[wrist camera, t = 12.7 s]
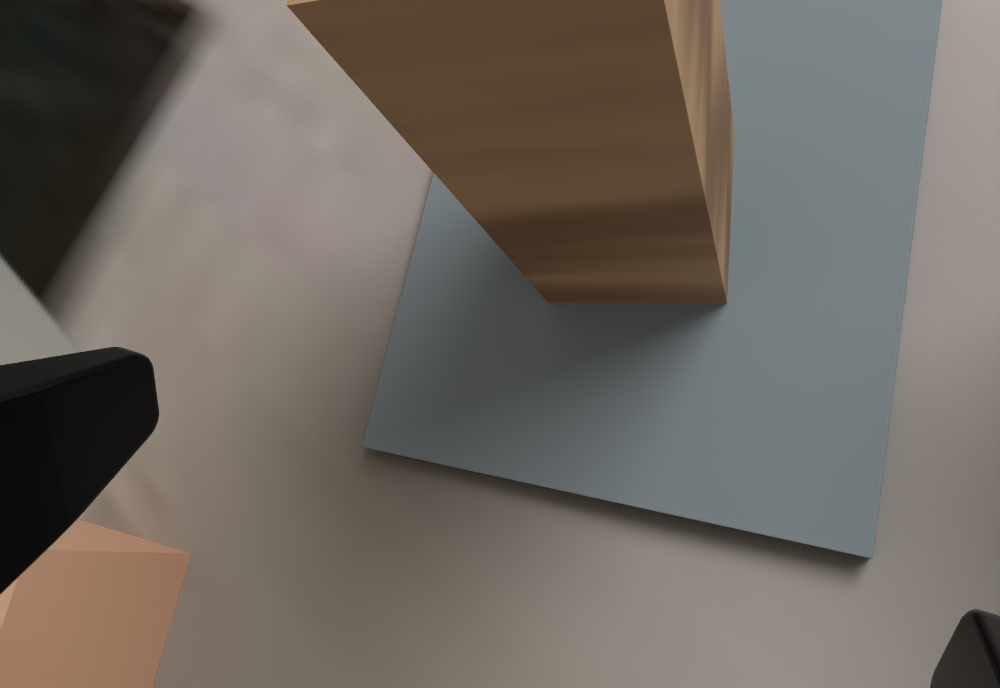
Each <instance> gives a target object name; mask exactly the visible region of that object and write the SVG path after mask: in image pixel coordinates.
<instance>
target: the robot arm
mask: <svg viewBox="0 0 1000 688" xmlns="http://www.w3.org/2000/svg"><path fill="white" fill-rule="evenodd" d="M158 418H159V407H158V400H157V393H156V385H155V378H154V370H153V366H152V363H151V361H150V360H149V358H148V357H146V356H145V355H143V354H141V353H138V352H134V351H131V350H128V349H125V348H121V347H110V348H104V349H98V350H92V351H86V352H80V353H74V354H68V355H61V356H55V357H49V358H44V359H38V360H31V361H25V362H18V363H12V364H6V365H0V595H1V594H2V593H3V592H4V591H5V590H6V589H7V588H8V587H9V586H10V585H11V584H12V583H13V582H14V581H15V580H16V579H17V578H18V577H19V576H20V575H21V574H22V573H23V572H24V571H25V570H26V569H28V568H29V567H30V566H31V565H32V564H33V563H34V562H35V561H36V560H37V559H38V558H39V557H40V556H41V555H42V554H43V553H44V552H45V551H46V550H47V549H48V548H49V547H50V546H51V545H52V544H53V543H54V542H56V541H57V540H58V538H59V537H60V536H61V535H62V534H63V533H64V532H65V531H66V530H67V529H68V528H69V527H70V526H71V525H72V524H73V523H74V522H75V521H76V520H77V519H78V518H79V517H80V515H81V514H82V513H83V512H84V511H85V510H86V509H87V508H88V506H89V505H90V504H91V503H92V502H93V501H94V500H95V498H96V497H97V496H98V495H99V494H100V493H101V491H102V490H103V489H104V488H105V487H106V486H107V485H108V483H109V482H110V481H111V480H112V479H113V478H114V477H115V475H116V474H117V473H118V472H119V471H120V470H121V468H122V467H123V466H124V465H125V464H126V463H127V462H128V460H129V459H130V458H131V457H132V456H133V455H134V453H135V452H136V451H137V450H138V449H139V448H140V447H141V445H142V444H143V443H144V442H145V441H146V440H147V439H148V437H149V436H150V435H151V434H152V432H153V431H154V429H155V427H156V425H157V422H158ZM930 688H1000V616H998V615H995V614H992V613H988V612H985V611H982V610H978V609H975V610H971V611H968V612H967V613H966V614H965V615H964V616H963V617H962V618H961V620H960V622H959V624H958V626H957V628H956V630H955V632H954V634H953V635H952V637H951V639H950V641H949V643H948V645H947V647H946V649H945V651H944V653H943V655H942V657H941V659H940V661H939V663H938V665H937V667H936V669H935V671H934V674H933V677H932V681H931V685H930Z"/></svg>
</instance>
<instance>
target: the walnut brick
mask: <svg viewBox="0 0 1000 688" xmlns="http://www.w3.org/2000/svg"><path fill="white" fill-rule="evenodd" d="M287 6H288V7H289V9H290V10H291V11H292V12H293V13H294V14H295V15H296V17H297V18H298V19H299V20H300V21H301V22H302V23H303V24H304V26H305V27H306V28H307V29H308V30H309V31H310V32H311V34H312V35H313V36H314V37H315V38H316V39H317V40H318V42H319V43H320V44H321V45H322V46H323V47H324V48H325V50H326V51H327V52H328V53H329V54H330V55H331V56H332V57H333V59H334V60H335V61H336V62H337V63H338V64H339V65H340V67H341V68H342V69H343V70H344V71H345V72H346V73H347V75H348V76H349V77H350V78H351V79H352V80H353V81H354V83H355V84H356V85H357V86H358V87H359V88H360V89H361V90H362V92H363V93H364V94H365V95H366V96H367V97H368V98H369V100H370V101H371V102H372V103H373V104H374V105H375V106H376V108H377V109H378V110H379V111H380V112H381V113H382V114H383V115H384V117H385V118H386V119H387V120H388V121H389V122H390V123H391V125H392V126H393V127H394V128H395V129H396V130H397V131H398V133H399V134H400V135H401V136H402V137H403V138H404V139H405V141H406V142H407V143H408V144H409V145H410V146H411V147H412V148H413V150H414V151H415V152H416V153H417V154H418V155H419V156H420V158H421V159H422V160H423V161H424V162H425V163H426V164H427V166H428V167H429V168H430V169H431V170H432V171H433V172H434V173H435V175H436V176H437V177H438V178H439V179H440V180H441V181H442V183H443V184H444V185H445V186H446V187H447V188H448V189H449V191H450V192H451V193H452V194H453V195H454V196H455V197H456V199H457V200H458V201H459V202H460V203H461V204H462V205H463V206H464V208H465V209H466V210H467V211H468V212H469V213H470V214H471V216H472V217H473V218H474V219H475V220H476V221H477V222H478V224H479V225H480V226H481V227H482V228H483V229H484V230H485V232H486V233H487V234H488V235H489V236H490V237H491V238H492V239H493V241H494V242H495V243H496V244H497V245H498V246H499V247H500V249H501V250H502V251H503V252H504V253H505V254H506V255H507V257H508V258H509V259H510V260H511V261H512V262H513V263H514V264H515V266H516V267H517V268H518V269H519V270H520V271H521V272H522V274H523V275H524V276H525V277H526V278H527V279H528V280H529V282H530V283H531V284H532V285H533V286H534V287H535V288H536V290H537V291H538V292H539V293H540V294H541V295H542V296H543V297H544V299H545V300H546V301H547V302H548V303H702V304H727V295H728V273H729V250H730V228H731V205H732V183H733V160H734V138H735V135H734V126H733V117H732V108H731V99H730V90H729V81H728V71H727V62H726V53H725V44H724V35H723V26H722V17H721V8H720V0H288V2H287Z"/></svg>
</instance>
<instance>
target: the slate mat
mask: <svg viewBox="0 0 1000 688" xmlns="http://www.w3.org/2000/svg"><path fill="white" fill-rule="evenodd" d="M941 6H942V0H720V8H721V17H722V26H723V35H724V44H725V53H726V62H727V71H728V81H729V90H730V99H731V108H732V117H733V126H734V135H735V138H734V160H733V183H732V205H731V228H730V250H729V273H728V295H727V304H702V303H548V302H547V301H546V300H545V299H544V297H543V296H542V295H541V294H540V293H539V292H538V291H537V290H536V288H535V287H534V286H533V285H532V284H531V283H530V282H529V280H528V279H527V278H526V277H525V276H524V275H523V274H522V272H521V271H520V270H519V269H518V268H517V267H516V266H515V264H514V263H513V262H512V261H511V260H510V259H509V258H508V257H507V255H506V254H505V253H504V252H503V251H502V250H501V249H500V247H499V246H498V245H497V244H496V243H495V242H494V241H493V239H492V238H491V237H490V236H489V235H488V234H487V233H486V232H485V230H484V229H483V228H482V227H481V226H480V225H479V224H478V222H477V221H476V220H475V219H474V218H473V217H472V216H471V214H470V213H469V212H468V211H467V210H466V209H465V208H464V206H463V205H462V204H461V203H460V202H459V201H458V200H457V199H456V197H455V196H454V195H453V194H452V193H451V192H450V191H449V189H448V188H447V187H446V186H445V185H444V184H443V183H442V181H441V180H440V179H439V178H438V177H437V176H436V175H435V173H433V177H432V180H431V184H430V188H429V192H428V196H427V199H426V203H425V207H424V211H423V215H422V218H421V222H420V226H419V230H418V234H417V237H416V241H415V245H414V249H413V253H412V256H411V260H410V264H409V268H408V272H407V275H406V279H405V283H404V287H403V291H402V294H401V298H400V302H399V306H398V310H397V313H396V317H395V321H394V325H393V329H392V332H391V336H390V340H389V344H388V348H387V351H386V355H385V359H384V363H383V367H382V370H381V374H380V378H379V382H378V386H377V389H376V393H375V397H374V401H373V405H372V408H371V412H370V416H369V420H368V424H367V427H366V431H365V435H364V439H363V443H362V446H361V447H365V448H368V449H372V450H376V451H381V452H385V453H390V454H395V455H399V456H404V457H408V458H413V459H417V460H422V461H426V462H431V463H436V464H440V465H445V466H449V467H454V468H458V469H463V470H468V471H472V472H477V473H481V474H486V475H490V476H495V477H499V478H504V479H509V480H513V481H518V482H522V483H527V484H531V485H536V486H541V487H545V488H550V489H554V490H559V491H563V492H568V493H572V494H577V495H582V496H586V497H591V498H595V499H600V500H604V501H609V502H614V503H618V504H623V505H627V506H632V507H636V508H641V509H646V510H650V511H655V512H659V513H664V514H668V515H673V516H677V517H682V518H687V519H691V520H696V521H700V522H705V523H709V524H714V525H719V526H723V527H728V528H732V529H737V530H741V531H746V532H750V533H755V534H760V535H764V536H769V537H773V538H778V539H782V540H787V541H792V542H796V543H801V544H805V545H810V546H814V547H819V548H823V549H828V550H833V551H837V552H842V553H846V554H851V555H855V556H860V557H865V558H869V559H872V558H873V552H874V544H875V536H876V528H877V520H878V512H879V504H880V496H881V488H882V480H883V472H884V464H885V455H886V447H887V439H888V431H889V423H890V415H891V407H892V399H893V391H894V383H895V375H896V367H897V359H898V351H899V343H900V335H901V327H902V319H903V311H904V303H905V295H906V287H907V279H908V271H909V263H910V255H911V247H912V239H913V231H914V223H915V215H916V207H917V199H918V191H919V183H920V175H921V167H922V159H923V151H924V143H925V134H926V126H927V118H928V110H929V102H930V94H931V86H932V78H933V70H934V62H935V54H936V46H937V38H938V30H939V22H940V14H941Z"/></svg>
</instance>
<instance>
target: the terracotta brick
mask: <svg viewBox="0 0 1000 688" xmlns="http://www.w3.org/2000/svg"><path fill="white" fill-rule="evenodd" d="M190 557H191V553H188V552H185V551H181V550H178V549H175V548H171V547H168V546H165V545H161V544H158V543H155V542H152V541H148V540H145V539H142V538H138V537H135V536H132V535H129V534H125V533H122V532H119V531H115V530H112V529H109V528H105V527H102V526H99V525H96V524H92V523H89V522H86V521H82V520H76V521H75V522H74V523H73V524H72V525H71V526H70V527H69V528H68V529H67V530H66V531H65V532H64V533H63V534H62V535H61V536H60V537H59V538H58V540H57V541H56V542H54V543H53V544H52V545H51V546H50V547H49V548H48V549H47V550H46V551H45V552H44V553H43V554H42V555H41V556H40V557H39V558H38V559H37V560H36V561H35V562H34V563H33V564H32V565H31V566H30V567H29V568H28V569H26V570H25V571H24V572H23V573H22V574H21V575H20V576H19V577H18V578H17V579H16V580H15V581H14V582H13V583H12V584H11V585H10V586H9V587H8V588H7V589H6V590H5V591H4V592H3V593H2V594H1V595H0V688H152V686H153V683H154V679H155V676H156V672H157V669H158V666H159V662H160V659H161V655H162V652H163V649H164V645H165V642H166V638H167V635H168V632H169V628H170V625H171V621H172V618H173V615H174V611H175V608H176V605H177V601H178V598H179V594H180V591H181V588H182V584H183V581H184V577H185V574H186V571H187V567H188V564H189V560H190Z"/></svg>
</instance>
